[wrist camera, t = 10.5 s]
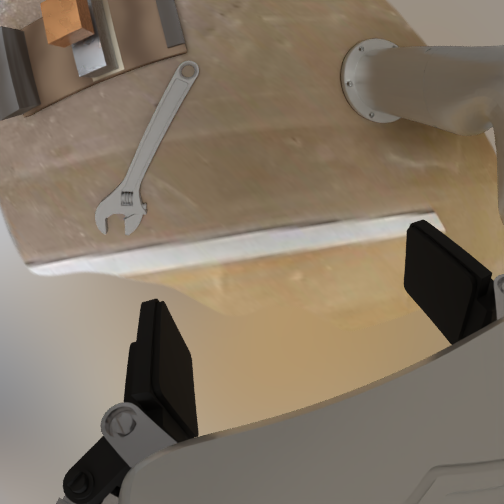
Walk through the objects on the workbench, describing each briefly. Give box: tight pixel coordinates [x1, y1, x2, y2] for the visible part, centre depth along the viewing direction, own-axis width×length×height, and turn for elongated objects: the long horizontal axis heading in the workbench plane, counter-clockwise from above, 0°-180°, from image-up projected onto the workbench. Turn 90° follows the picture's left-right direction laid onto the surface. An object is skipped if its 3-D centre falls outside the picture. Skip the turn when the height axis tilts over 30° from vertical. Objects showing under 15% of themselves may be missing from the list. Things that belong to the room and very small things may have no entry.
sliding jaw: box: [41, 0, 119, 78], centre depth 22 cm, size 3×11×12 cm, turn 13°
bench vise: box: [0, 0, 187, 121], centre depth 26 cm, size 22×12×8 cm, turn 103°
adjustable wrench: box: [95, 61, 199, 235], centre depth 38 cm, size 25×6×2 cm, turn 145°
